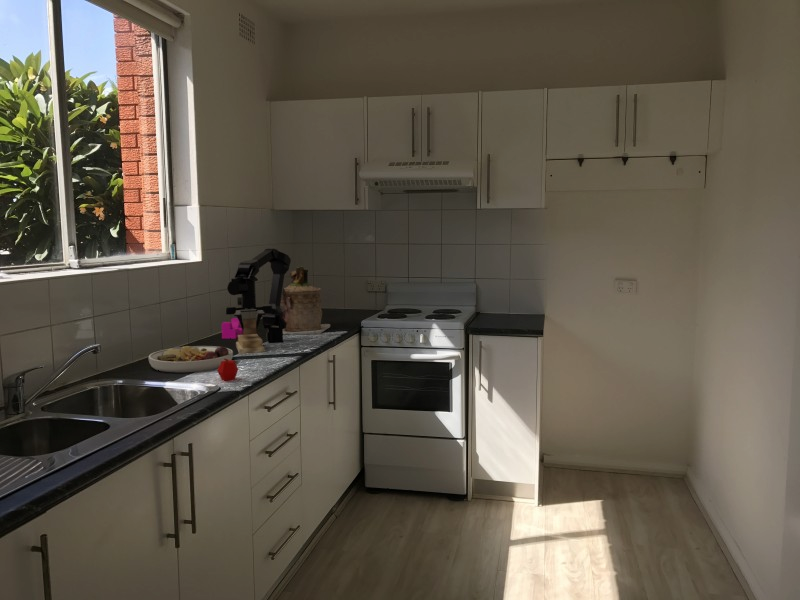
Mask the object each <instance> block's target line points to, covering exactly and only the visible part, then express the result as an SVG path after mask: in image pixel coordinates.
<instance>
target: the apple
mask: <svg viewBox="0 0 800 600" xmlns="http://www.w3.org/2000/svg"><path fill="white" fill-rule="evenodd" d="M224 360H226V361H221V363H220V366H219V368H217V373H218V375H219V377H220V380H222V381H223V380H224V382H231V381H230V380H233V381H235V379H236V376H237V374H238V372H239V368H238V366H237V363H236V361H235V360H228V359H225V358H224Z"/></svg>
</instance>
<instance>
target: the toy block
mask: <svg viewBox="0 0 800 600" xmlns="http://www.w3.org/2000/svg"><path fill="white" fill-rule="evenodd" d="M238 335H244V333H243V330H242V327H241V325H240V322H239V320H238V318H237V317H235V318H234V317H233V318H231V321H228V322H227V321H223V322H222V323H221V339H230V338H231V339H234V340H236V339H238Z"/></svg>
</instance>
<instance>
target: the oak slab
mask: <svg viewBox="0 0 800 600" xmlns="http://www.w3.org/2000/svg"><path fill="white" fill-rule="evenodd" d="M237 342H238V343H239V344H240V346H241V347H242V348H243V349H246V348H261V347H263V346H264V345H263V342H264V341H263V339H262V338H261V337H260V336H259V335H258V333H256V334H248V335H244V334H243V335H238V338H237Z"/></svg>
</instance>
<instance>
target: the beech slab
mask: <svg viewBox="0 0 800 600" xmlns="http://www.w3.org/2000/svg"><path fill="white" fill-rule="evenodd" d="M235 348H236V349H237V351H238V354H239V355H244V354H245V355H246V354H247V353H248V354H260V353H261V354H262V353H266V352H265V351H266V349H265V348H266V347H265V346H264V345H263V347H261V348H246V349H243V348H242V347H241V346H240V344H239V343H238V341H236V342H235Z"/></svg>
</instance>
